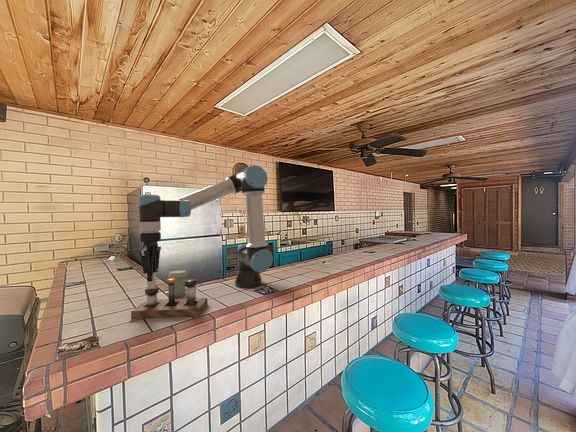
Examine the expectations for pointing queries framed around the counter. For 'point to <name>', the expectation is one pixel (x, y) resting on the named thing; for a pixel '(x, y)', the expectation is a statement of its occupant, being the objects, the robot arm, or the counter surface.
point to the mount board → (170, 309)
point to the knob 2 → (191, 291)
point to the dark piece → (171, 290)
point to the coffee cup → (179, 281)
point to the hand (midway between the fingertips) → (151, 288)
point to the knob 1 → (151, 297)
